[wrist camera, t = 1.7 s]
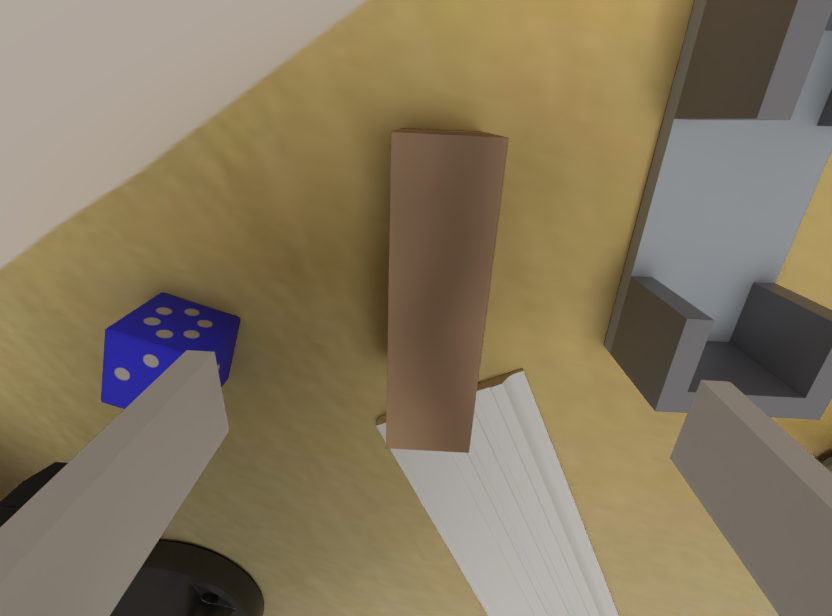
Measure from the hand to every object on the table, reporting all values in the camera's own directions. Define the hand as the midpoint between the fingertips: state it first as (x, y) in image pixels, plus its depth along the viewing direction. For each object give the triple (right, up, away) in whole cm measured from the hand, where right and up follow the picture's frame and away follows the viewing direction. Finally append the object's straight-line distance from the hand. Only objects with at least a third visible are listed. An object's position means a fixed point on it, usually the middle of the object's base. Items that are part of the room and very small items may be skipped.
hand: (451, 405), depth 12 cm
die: (-15, +1, +15) cm, 22 cm away
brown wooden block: (0, +6, +13) cm, 14 cm away
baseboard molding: (+8, -15, +23) cm, 29 cm away
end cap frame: (+15, +8, +11) cm, 20 cm away
